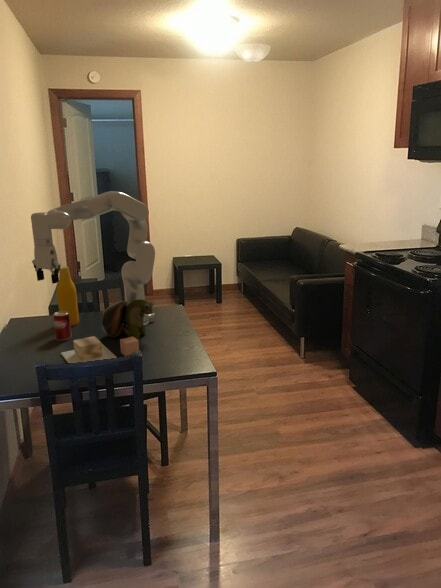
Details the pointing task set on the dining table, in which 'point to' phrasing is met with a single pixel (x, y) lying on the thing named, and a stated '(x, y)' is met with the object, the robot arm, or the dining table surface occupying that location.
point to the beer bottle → (67, 295)
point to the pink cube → (129, 345)
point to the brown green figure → (126, 318)
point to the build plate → (72, 358)
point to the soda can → (62, 325)
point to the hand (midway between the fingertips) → (48, 281)
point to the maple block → (87, 348)
